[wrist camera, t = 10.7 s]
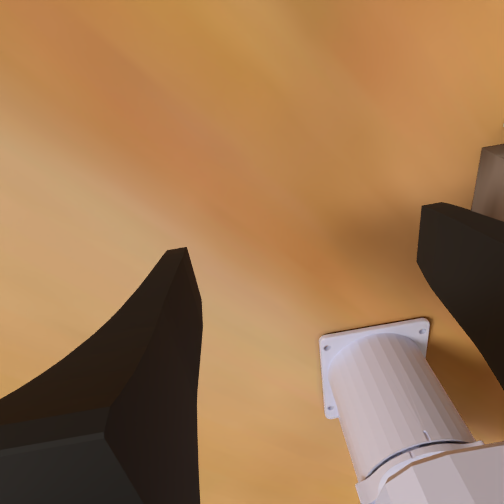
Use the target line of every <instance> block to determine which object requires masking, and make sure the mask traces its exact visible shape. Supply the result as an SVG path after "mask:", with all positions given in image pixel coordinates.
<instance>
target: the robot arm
mask: <svg viewBox="0 0 504 504" xmlns="http://www.w3.org/2000/svg"><path fill="white" fill-rule="evenodd" d="M417 264H418V265H419V267H420V269H421V271H422V273H423V275H424V277H425V278H426V280H427V282H428V284H429V285H430V287H431V288H432V290H433V291H434V292H435V294H436V295H437V296H438V298H439V299H440V300H441V302H442V303H443V304H444V306H445V307H446V308H447V309H448V311H449V312H450V313H451V314H452V316H453V317H454V318H455V320H456V321H457V322H458V323H459V325H460V326H461V327H462V329H463V330H464V331H465V332H466V334H467V335H468V336H469V337H470V339H471V340H472V341H473V343H474V344H475V345H476V347H477V348H478V350H479V351H480V352H481V354H482V355H483V357H484V359H485V360H486V362H487V363H488V365H489V367H490V368H491V370H492V372H493V373H494V375H495V376H496V378H497V380H498V381H499V383H500V385H501V386H502V388H503V390H504V222H503V221H500V220H497V219H494V218H491V217H488V216H485V215H482V214H480V213H477V212H474V211H471V210H468V209H465V208H462V207H458V206H455V205H452V204H448V203H443V202H440V203H435V204H429V205H423V206H422V209H421V220H420V230H419V241H418V251H417ZM429 328H430V323H429V321H428V320H427V319H426V318H418V319H413V320H407V321H401V322H396V323H390V324H384V325H378V326H373V327H367V328H361V329H356V330H350V331H344V332H338V333H333V334H327V335H323V336H322V337H320V339H319V348H320V361H321V374H322V386H323V399H324V412H325V416H326V418H328V419H333V418H339V421H340V424H341V428H342V431H343V434H344V437H345V440H346V444H347V447H348V450H349V453H350V456H351V460H352V463H353V466H354V469H355V472H356V476H357V479H358V482H359V483H356V485H355V486H356V489H357V493H358V496H359V499H360V503H361V504H504V441H503V442H497V443H491V444H484V443H483V441H481V440H479V441H476V440H475V439H474V437H473V436H472V434H471V432H470V431H469V429H468V427H467V426H466V424H465V422H464V421H463V419H462V418H461V416H460V414H459V413H458V411H457V409H456V408H455V406H454V405H453V403H452V401H451V400H450V398H449V396H448V395H447V393H446V391H445V390H444V388H443V387H442V385H441V383H440V382H439V380H438V378H437V377H436V375H435V374H434V372H433V370H432V369H431V367H430V365H429V364H428V362H427V361H426V359H425V358H426V351H427V343H428V335H429ZM421 329H422V330H421ZM202 331H203V320H202V301H201V296H200V292H199V289H198V285H197V282H196V278H195V275H194V271H193V268H192V264H191V260H190V257H189V253H188V250H187V247H184V248H178V249H172V250H167V251H166V252H165V254H164V255H163V256H162V257H161V259H160V260H159V262H158V263H157V264H156V266H155V267H154V268H153V270H152V271H151V272H150V274H149V275H148V276H147V277H146V279H145V280H144V281H143V283H142V284H141V285H140V286H139V288H138V289H137V290H136V291H135V292H134V293H133V295H132V296H131V297H130V298H129V299H128V300H127V301H126V303H125V304H124V305H123V306H122V307H121V308H120V309H119V310H118V311H117V313H116V314H115V315H114V316H113V317H112V318H111V319H110V320H109V321H108V322H106V323H105V324H104V325H103V326H102V327H101V328H100V329H99V330H98V331H97V332H96V333H95V334H93V335H92V336H91V337H90V338H89V339H87V340H86V341H85V342H84V343H82V344H81V345H80V346H79V347H77V348H76V349H75V350H74V351H72V352H71V353H70V354H69V355H67V356H66V357H65V358H63V359H62V360H61V361H59V362H58V363H57V364H55V365H54V366H52V367H51V368H49V369H48V370H47V371H45V372H44V373H42V374H41V375H39V376H38V377H36V378H34V379H33V380H31V381H30V382H28V383H27V384H25V385H24V386H22V387H20V388H19V389H17V390H15V391H14V392H12V393H10V394H8V395H7V396H5V397H3V398H2V399H0V504H200V490H199V469H198V439H197V389H198V377H199V366H200V355H201V343H202ZM325 346H327V347H325Z"/></svg>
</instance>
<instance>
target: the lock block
mask: <svg viewBox="0 0 504 504" xmlns="http://www.w3.org/2000/svg"><path fill="white" fill-rule="evenodd" d="M471 211H474V212H477V213H480V214H482V215H485V216H488V217H491V218H494V219H497V220H500V221H503V222H504V144H500V145H495V146H489V147H483V148H482V151H481V157H480V163H479V168H478V174H477V180H476V186H475V192H474V198H473V203H472V209H471Z"/></svg>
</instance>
